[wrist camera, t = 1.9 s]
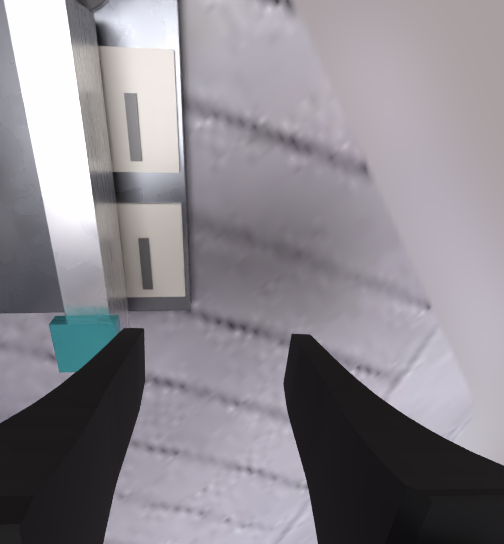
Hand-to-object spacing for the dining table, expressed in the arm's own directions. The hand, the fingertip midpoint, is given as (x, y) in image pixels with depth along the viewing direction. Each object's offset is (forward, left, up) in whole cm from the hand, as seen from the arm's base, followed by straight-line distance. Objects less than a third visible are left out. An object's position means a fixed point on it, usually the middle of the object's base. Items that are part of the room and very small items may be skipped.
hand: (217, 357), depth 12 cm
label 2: (+1, +4, -9) cm, 10 cm away
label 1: (+7, +4, -9) cm, 12 cm away
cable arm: (+3, +6, -8) cm, 10 cm away
